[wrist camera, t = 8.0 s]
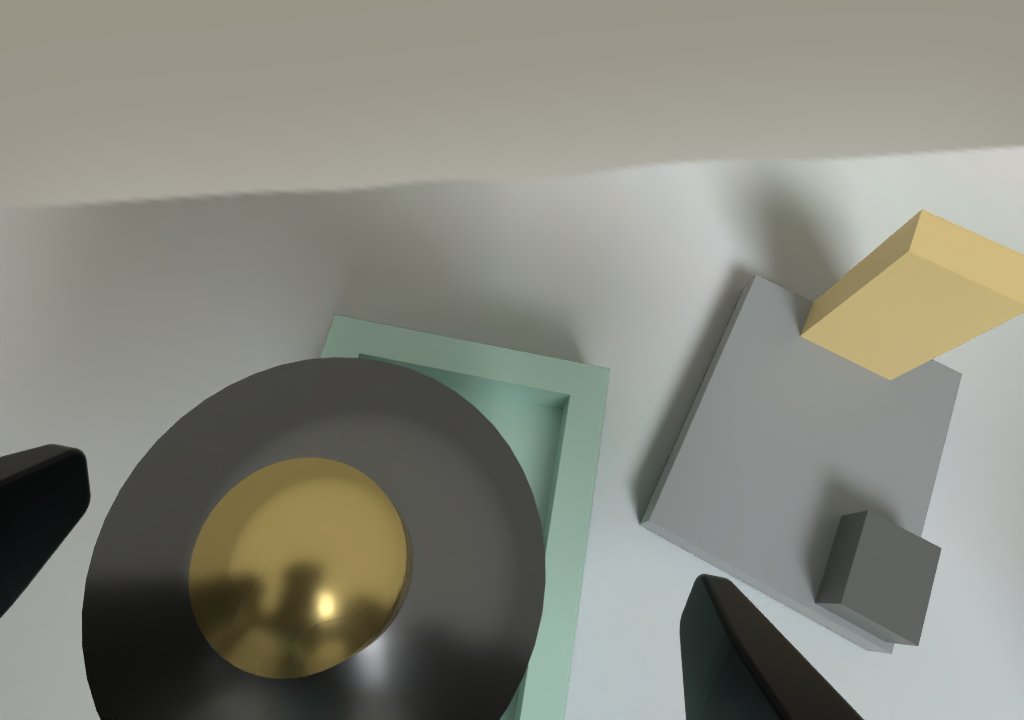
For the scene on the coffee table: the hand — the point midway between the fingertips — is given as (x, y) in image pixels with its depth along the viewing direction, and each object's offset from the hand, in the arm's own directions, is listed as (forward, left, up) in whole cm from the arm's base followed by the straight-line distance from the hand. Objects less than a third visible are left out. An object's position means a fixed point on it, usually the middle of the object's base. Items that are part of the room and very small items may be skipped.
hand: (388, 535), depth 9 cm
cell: (0, 0, -8) cm, 8 cm away
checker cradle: (+12, -1, -8) cm, 15 cm away
